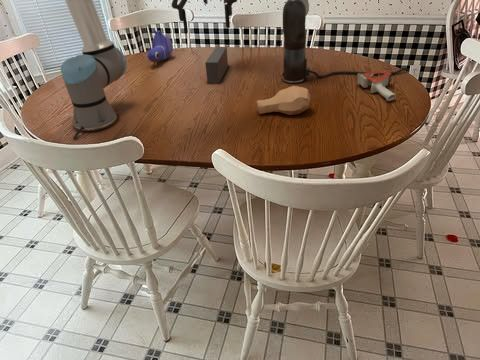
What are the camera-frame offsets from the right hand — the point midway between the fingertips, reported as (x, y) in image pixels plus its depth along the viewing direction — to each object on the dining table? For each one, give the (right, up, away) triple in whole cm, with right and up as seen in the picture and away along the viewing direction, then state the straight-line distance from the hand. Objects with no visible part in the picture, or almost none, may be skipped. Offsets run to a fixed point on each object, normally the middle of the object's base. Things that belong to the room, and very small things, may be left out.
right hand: (215, 3), depth 157 cm
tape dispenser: (+66, -42, -14) cm, 79 cm away
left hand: (0, -30, -43) cm, 53 cm away
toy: (-32, -16, +31) cm, 47 cm away
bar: (0, -28, +11) cm, 30 cm away
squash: (+27, -53, -25) cm, 65 cm away
